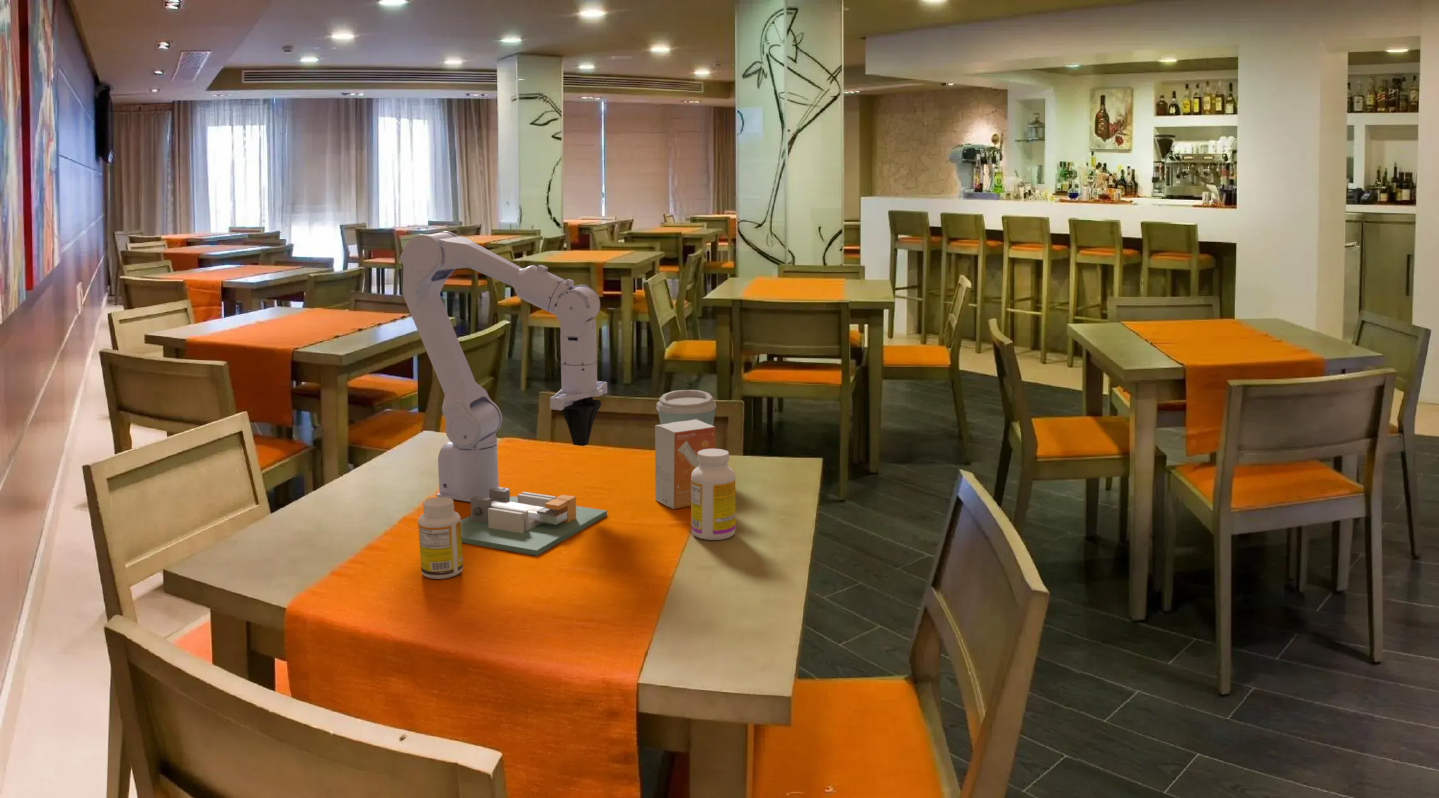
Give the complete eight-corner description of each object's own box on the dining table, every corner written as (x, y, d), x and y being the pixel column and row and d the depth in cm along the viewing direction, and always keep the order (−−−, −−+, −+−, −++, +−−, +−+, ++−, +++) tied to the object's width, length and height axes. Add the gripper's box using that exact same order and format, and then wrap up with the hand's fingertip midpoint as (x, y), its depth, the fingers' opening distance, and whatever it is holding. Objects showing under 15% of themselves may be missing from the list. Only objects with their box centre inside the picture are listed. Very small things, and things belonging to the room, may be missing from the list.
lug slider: (576, 518, 168) (575, 496, 167) (558, 527, 163) (558, 505, 162) (562, 516, 169) (562, 494, 168) (545, 525, 164) (544, 503, 163)
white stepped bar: (484, 511, 167) (484, 502, 167) (496, 506, 170) (496, 497, 169) (556, 524, 162) (556, 514, 162) (567, 518, 165) (567, 509, 164)
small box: (674, 510, 175) (673, 432, 172) (654, 500, 180) (653, 424, 177) (715, 502, 179) (716, 425, 176) (695, 492, 184) (695, 418, 181)
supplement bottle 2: (740, 530, 165) (741, 448, 163) (727, 543, 159) (727, 459, 156) (699, 525, 167) (700, 444, 165) (684, 538, 161) (684, 455, 159)
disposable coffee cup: (715, 485, 188) (716, 401, 185) (654, 485, 188) (653, 401, 185) (716, 468, 198) (717, 389, 195) (658, 468, 199) (657, 388, 195)
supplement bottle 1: (446, 562, 151) (443, 492, 149) (471, 572, 148) (468, 500, 145) (412, 573, 147) (408, 501, 145) (437, 583, 143) (433, 510, 141)
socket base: (434, 537, 161) (433, 509, 160) (512, 500, 179) (511, 475, 178) (536, 555, 154) (535, 526, 153) (606, 515, 172) (606, 488, 171)
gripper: (576, 372, 165) (578, 457, 168) (622, 357, 178) (623, 437, 181) (537, 368, 168) (540, 452, 171) (585, 354, 181) (587, 432, 184)
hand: (580, 444), depth 176 cm, fingers closed
